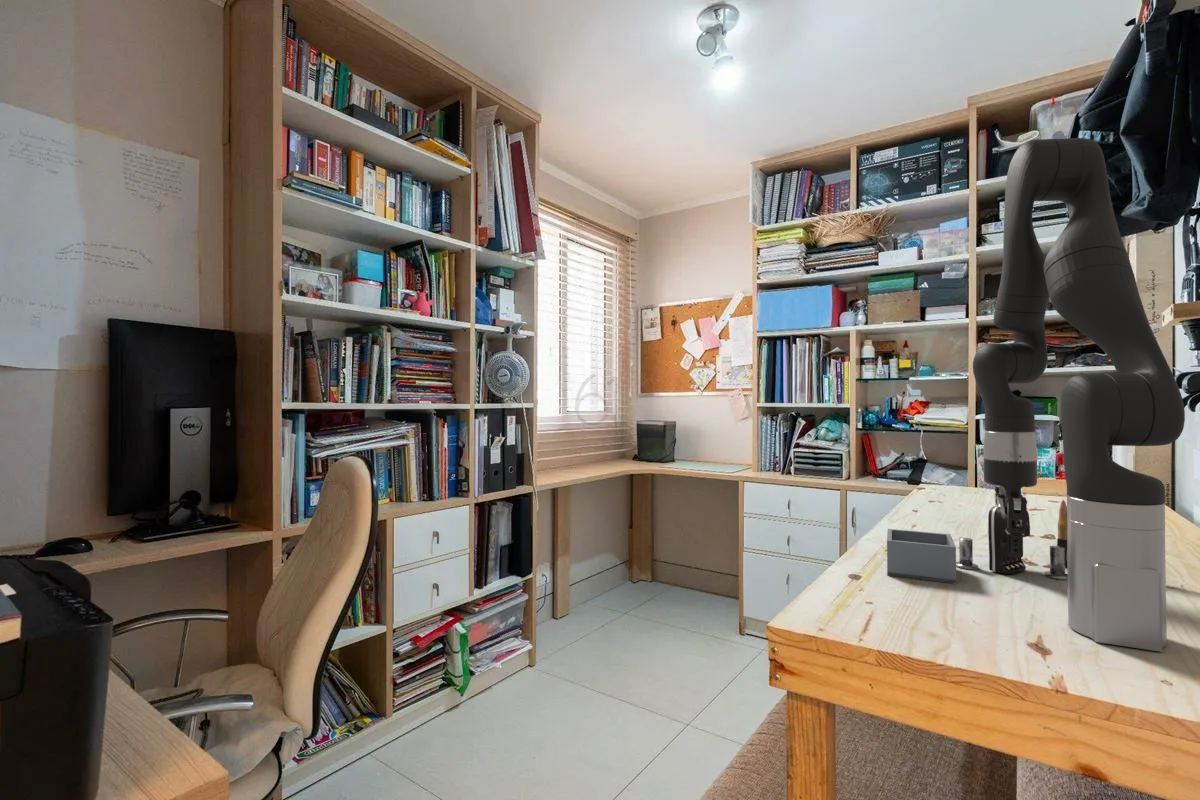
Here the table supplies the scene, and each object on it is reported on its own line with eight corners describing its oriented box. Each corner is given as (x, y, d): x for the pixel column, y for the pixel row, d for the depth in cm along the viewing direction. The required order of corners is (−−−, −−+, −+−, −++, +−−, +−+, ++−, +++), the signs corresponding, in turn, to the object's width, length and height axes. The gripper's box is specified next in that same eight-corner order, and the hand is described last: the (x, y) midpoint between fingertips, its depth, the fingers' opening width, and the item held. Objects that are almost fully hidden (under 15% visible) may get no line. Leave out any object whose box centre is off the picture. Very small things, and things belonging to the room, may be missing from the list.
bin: (956, 584, 91) (955, 547, 91) (887, 575, 96) (887, 540, 96) (950, 567, 100) (950, 534, 100) (887, 560, 104) (887, 528, 104)
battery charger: (1011, 577, 94) (1011, 509, 94) (987, 571, 97) (986, 506, 97) (1033, 571, 97) (1033, 506, 97) (1009, 566, 101) (1008, 502, 101)
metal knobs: (1074, 581, 92) (1073, 551, 92) (955, 567, 100) (955, 539, 100) (1068, 575, 95) (1067, 546, 95) (953, 562, 103) (953, 535, 103)
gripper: (1046, 462, 89) (1047, 565, 89) (1027, 454, 102) (1028, 544, 102) (989, 460, 93) (990, 559, 93) (978, 452, 106) (979, 539, 106)
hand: (1010, 551), depth 97 cm, fingers closed on battery charger, 7 cm apart
